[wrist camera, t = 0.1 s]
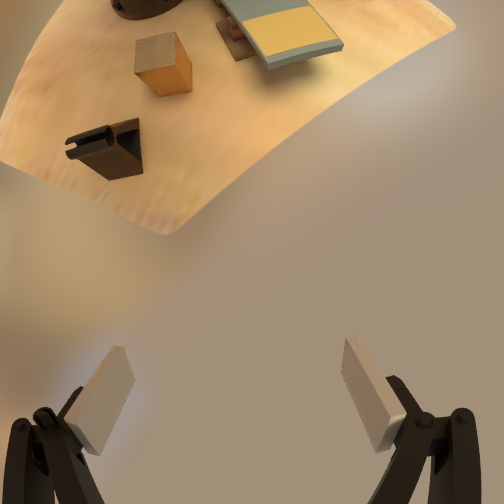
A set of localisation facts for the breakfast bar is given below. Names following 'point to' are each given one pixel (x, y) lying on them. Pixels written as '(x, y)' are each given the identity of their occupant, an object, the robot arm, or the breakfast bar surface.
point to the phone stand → (110, 149)
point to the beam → (283, 30)
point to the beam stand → (234, 37)
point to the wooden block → (163, 64)
